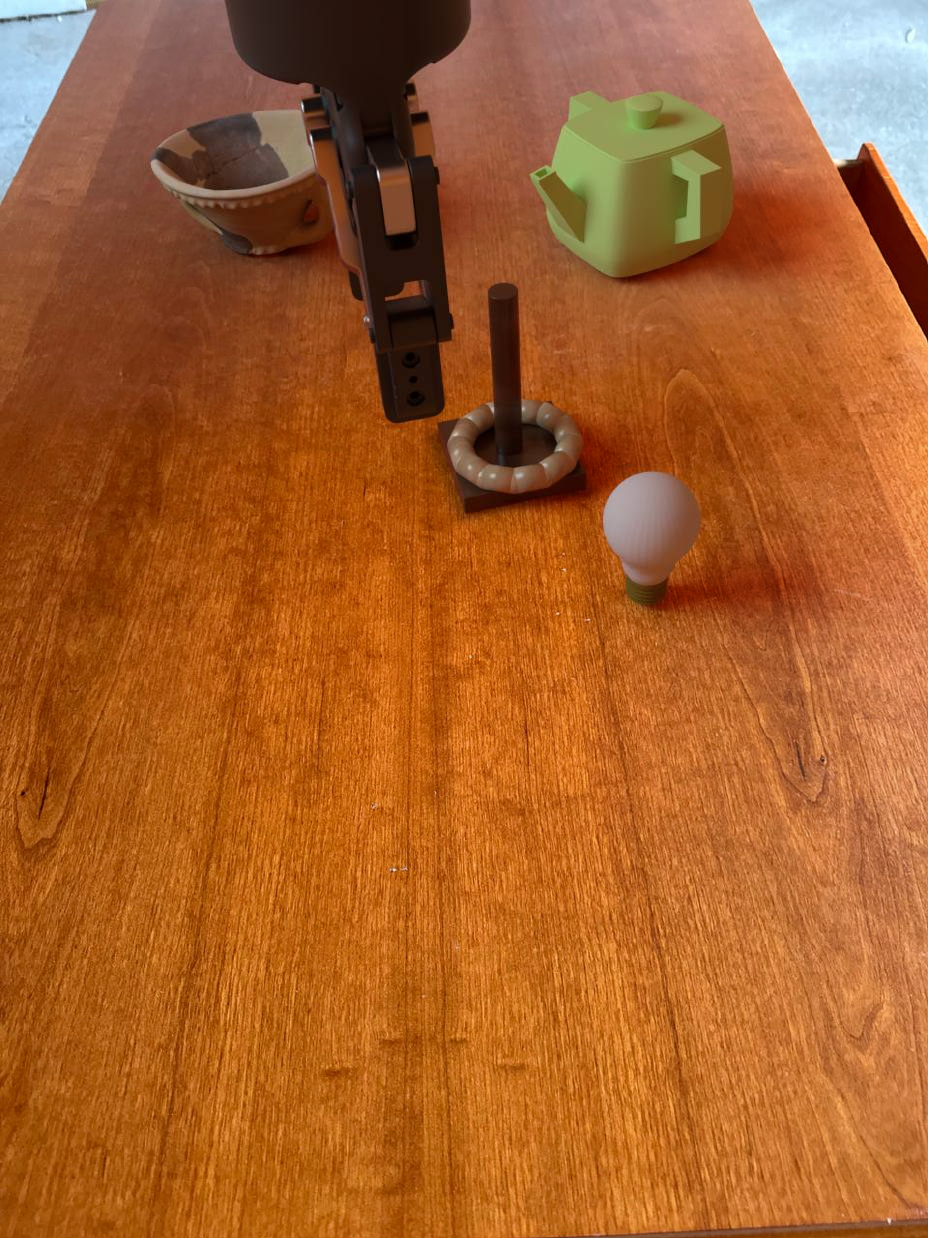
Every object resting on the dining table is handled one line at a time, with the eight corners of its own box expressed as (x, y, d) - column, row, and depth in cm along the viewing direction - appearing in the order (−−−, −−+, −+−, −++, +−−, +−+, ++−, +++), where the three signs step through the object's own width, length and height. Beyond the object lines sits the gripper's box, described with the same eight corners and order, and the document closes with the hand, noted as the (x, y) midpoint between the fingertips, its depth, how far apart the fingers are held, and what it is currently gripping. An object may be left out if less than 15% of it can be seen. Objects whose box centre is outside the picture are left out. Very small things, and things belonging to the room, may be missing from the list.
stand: (551, 415, 88) (550, 244, 78) (586, 489, 82) (589, 315, 72) (438, 437, 88) (421, 267, 77) (465, 513, 82) (450, 341, 71)
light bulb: (667, 644, 72) (679, 529, 65) (584, 612, 74) (587, 497, 67) (705, 585, 75) (721, 469, 68) (624, 556, 78) (631, 440, 70)
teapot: (599, 335, 95) (603, 186, 86) (475, 236, 107) (467, 96, 98) (770, 264, 101) (792, 117, 91) (634, 178, 113) (641, 40, 103)
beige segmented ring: (560, 403, 87) (560, 383, 86) (598, 483, 81) (598, 463, 79) (438, 426, 86) (436, 407, 85) (465, 509, 80) (464, 489, 78)
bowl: (392, 210, 112) (380, 113, 105) (292, 306, 101) (272, 204, 94) (244, 180, 118) (224, 86, 111) (135, 267, 107) (106, 169, 100)
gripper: (518, -73, 28) (533, 443, 40) (415, -203, 38) (452, 244, 50) (216, -28, 28) (323, 483, 40) (190, -173, 37) (282, 274, 49)
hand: (395, 350), depth 45 cm, fingers open, 8 cm apart
